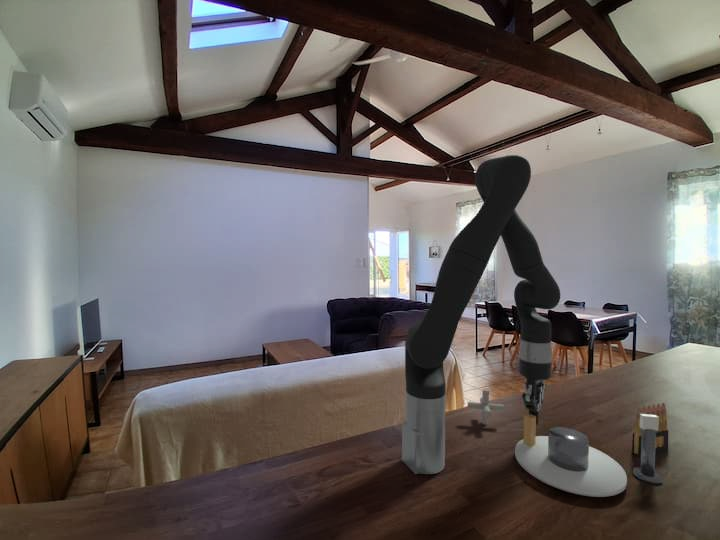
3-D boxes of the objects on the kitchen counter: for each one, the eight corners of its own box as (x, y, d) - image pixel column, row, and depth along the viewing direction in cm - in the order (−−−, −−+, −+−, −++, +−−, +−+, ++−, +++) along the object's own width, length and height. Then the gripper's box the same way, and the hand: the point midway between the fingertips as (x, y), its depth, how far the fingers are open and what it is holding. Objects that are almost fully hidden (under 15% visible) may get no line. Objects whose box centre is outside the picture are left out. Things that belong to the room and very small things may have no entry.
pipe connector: (506, 433, 97) (507, 398, 97) (469, 429, 99) (470, 395, 99) (499, 417, 107) (500, 385, 107) (466, 414, 109) (466, 382, 109)
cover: (578, 476, 75) (578, 448, 74) (541, 458, 81) (541, 433, 81) (594, 463, 79) (595, 437, 79) (558, 448, 86) (558, 424, 86)
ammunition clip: (639, 456, 86) (640, 409, 86) (631, 452, 88) (632, 405, 87) (668, 449, 89) (670, 403, 89) (660, 445, 91) (661, 400, 91)
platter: (601, 512, 65) (602, 470, 65) (496, 457, 83) (497, 424, 83) (642, 471, 78) (643, 436, 78) (543, 431, 96) (544, 403, 96)
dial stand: (653, 471, 80) (655, 411, 79) (667, 485, 75) (669, 421, 75) (628, 469, 81) (630, 409, 80) (641, 482, 76) (643, 419, 76)
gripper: (544, 367, 82) (542, 438, 83) (557, 354, 92) (556, 418, 93) (511, 360, 87) (510, 428, 88) (527, 349, 97) (526, 410, 98)
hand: (533, 422), depth 91 cm, fingers closed
